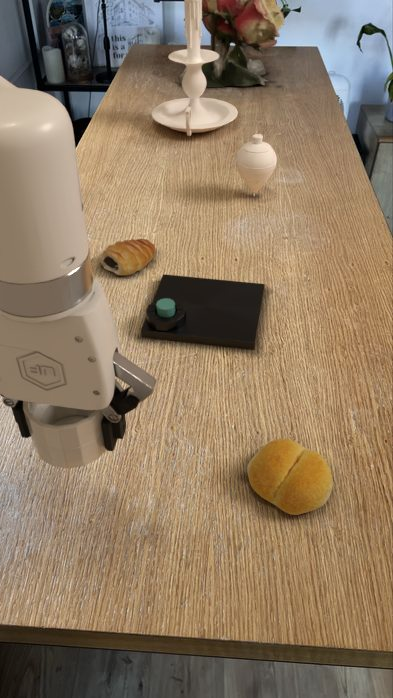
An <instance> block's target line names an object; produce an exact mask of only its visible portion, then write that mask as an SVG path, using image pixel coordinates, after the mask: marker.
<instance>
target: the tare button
mask: <svg viewBox="0 0 393 698" xmlns="http://www.w3.org/2000/svg"><path fill="white" fill-rule="evenodd" d="M156 308H157V314H158V316H160V317H165V318H167V317H172V316H173V315H174V314H175V302H174V301H173V300H171V299H168V298H164V299H160V300H159V301H158V302H157V303H156Z"/></svg>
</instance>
